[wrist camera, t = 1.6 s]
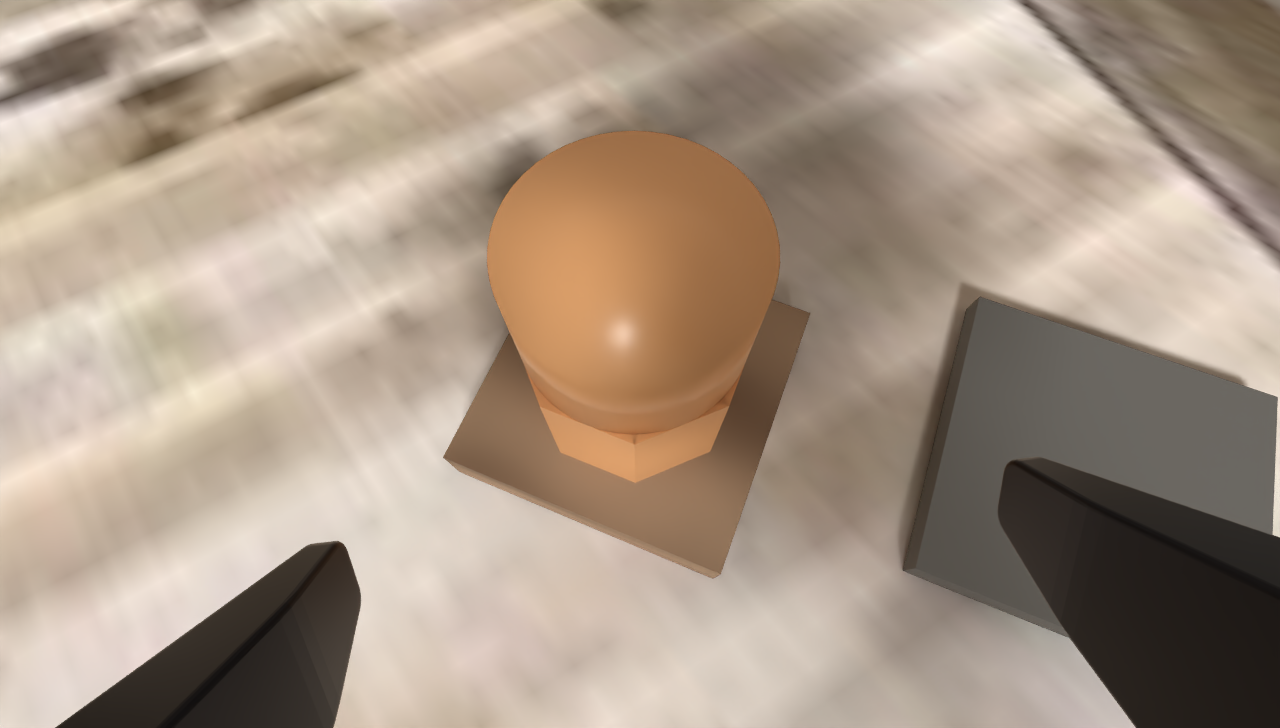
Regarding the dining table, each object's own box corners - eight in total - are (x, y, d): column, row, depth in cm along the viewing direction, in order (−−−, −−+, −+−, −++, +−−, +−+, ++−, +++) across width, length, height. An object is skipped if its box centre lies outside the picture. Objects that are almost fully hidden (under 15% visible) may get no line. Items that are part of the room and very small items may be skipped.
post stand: (712, 578, 20) (741, 561, 15) (459, 471, 22) (398, 418, 16) (796, 337, 23) (846, 248, 18) (571, 256, 25) (552, 149, 19)
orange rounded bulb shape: (689, 505, 19) (723, 430, 12) (509, 431, 20) (433, 318, 13) (753, 335, 21) (815, 180, 14) (587, 274, 22) (562, 98, 15)
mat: (1234, 704, 19) (1265, 708, 18) (902, 570, 20) (915, 568, 20) (1251, 406, 23) (1277, 397, 22) (966, 309, 24) (979, 296, 23)
